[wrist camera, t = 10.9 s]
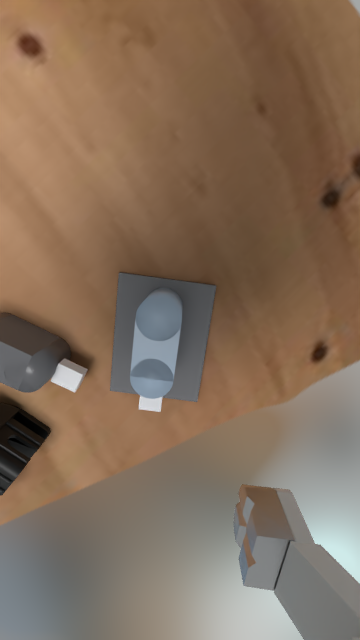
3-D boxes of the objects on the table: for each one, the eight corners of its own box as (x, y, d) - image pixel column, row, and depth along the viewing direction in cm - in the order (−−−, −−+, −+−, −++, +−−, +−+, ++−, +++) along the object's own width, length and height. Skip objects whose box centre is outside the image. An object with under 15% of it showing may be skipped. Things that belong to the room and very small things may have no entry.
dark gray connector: (-16, 336, 27) (-60, 355, 22) (-5, 306, 26) (-49, 318, 21) (84, 383, 28) (62, 410, 23) (97, 355, 27) (78, 377, 22)
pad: (120, 272, 25) (118, 272, 24) (215, 285, 25) (216, 286, 24) (111, 387, 28) (110, 390, 27) (196, 398, 28) (197, 401, 27)
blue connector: (147, 285, 25) (137, 293, 20) (184, 290, 25) (184, 299, 20) (136, 390, 27) (125, 420, 22) (170, 395, 27) (167, 426, 22)
